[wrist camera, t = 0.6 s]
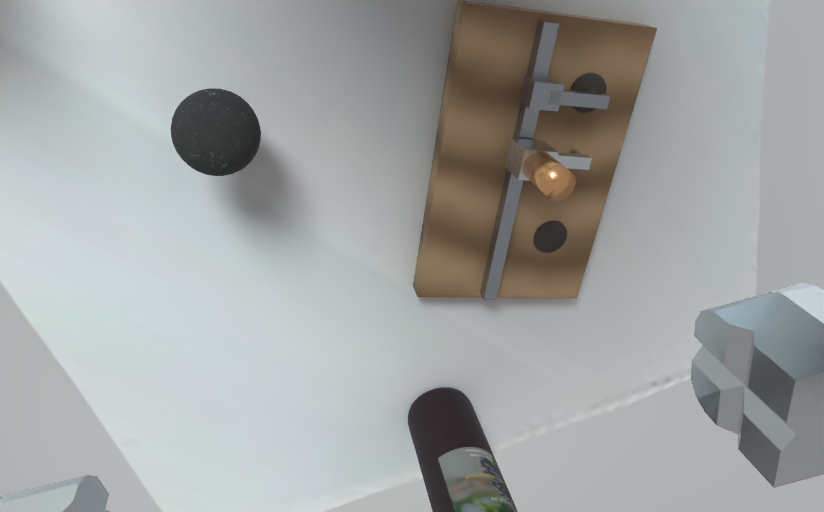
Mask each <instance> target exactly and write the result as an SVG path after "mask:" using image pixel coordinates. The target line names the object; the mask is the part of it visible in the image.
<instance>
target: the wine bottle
mask: <svg viewBox="0 0 824 512" xmlns="http://www.w3.org/2000/svg"><path fill="white" fill-rule="evenodd" d="M408 425H409V429H410V433H411V436H412V440H413V443H414V447H415V450H416V454H417V457H418V461H419V464H420V468H421V471H422V475H423V478H424V482H425V486H426V489H427V493H428V496H429V500H430V503H431V506H432V510H433V512H517V510H516V507H515V505H514V502H513V500H512V498H511V495H510V493H509V490H508V488H507V486H506V484H505V481H504V479H503V477H502V474H501V472H500V469H499V467H498V465H497V462H496V460H495V458H494V455H493V453H492V451H491V448H490V446H489V444H488V441H487V439H486V437H485V434H484V432H483V430H482V427H481V425H480V423H479V420H478V418H477V416H476V413H475V411H474V409H473V406H472V404H471V402H470V400H469V399H468V398H467V397H466V396H465V395H464V394H463V393H462V392H460V391H459V390H456V389H453V388H437V389H434V390H430V391H428V392H426V393H424V394H423V395H421V396H420V397H419V398H418V399H417V400H416V401H415V402H414V403H413V404H412V406H411V408H410V410H409V414H408Z"/></svg>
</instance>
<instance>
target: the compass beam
mask: <svg viewBox="0 0 824 512" xmlns="http://www.w3.org/2000/svg"><path fill="white" fill-rule="evenodd" d="M558 27H559V24H558V23H555V22H551V21H544V20H538V23H537V28H536V33H535V37H534V42H533V47H532V51H531V56H530V61H529V65H528V70H527V75H526V76H525V79H524V84H523V89H522V93H521V98H520V107H519V112H518V117H517V121H516V126H515V131H514V135H513V138H516V139H529V140H533V136H534V132H535V128H536V123H537V119H538V114H539V110H548V111H558V110H559V106H560V105H566V106H577V107H587V108H598V109H607V107H608V104H609V100H610V97H611V96H609V95H607V94H601V93H597V92H595V91H593V90H587V91H586V92H581V91H571V90H564V86H565V85H564V84H562V83H560V82H558V81H556V80H554V79H547V75H548V71H549V66H550V62H551V58H552V53H553V49H554V45H555V40H556V36H557V31H558ZM522 184H523V180H518V179H517V178H516V177H515V176H514V175H513V174H512V173H511V172H510V171H509V170H508V169H507V168H506V173H505V178H504V182H503V187H502V192H501V196H500V201H499V206H498V210H497V215H496V220H495V224H494V229H493V234H492V238H491V243H490V248H489V252H488V257H487V262H486V266H485V271H484V276H483V280H482V285H481V290H480V294H481V296H482V297H483V299H484V300H496V298H497V294H498V289H499V285H500V281H501V276H502V272H503V267H504V263H505V259H506V254H507V250H508V246H509V241H510V237H511V232H512V228H513V224H514V219H515V215H516V211H517V206H518V202H519V197H520V193H521V189H522Z"/></svg>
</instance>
